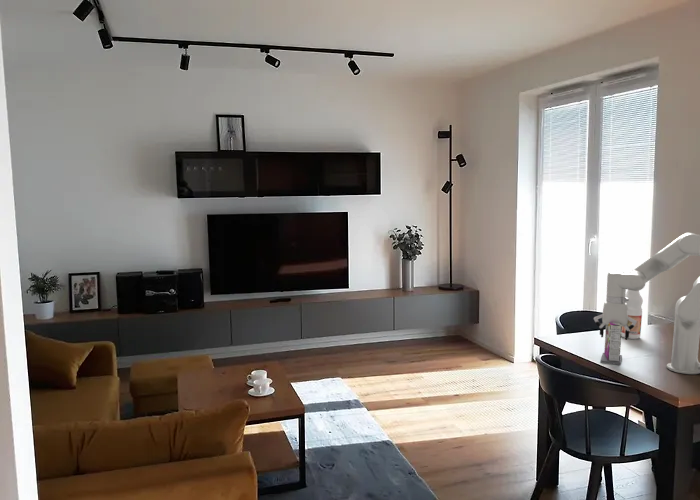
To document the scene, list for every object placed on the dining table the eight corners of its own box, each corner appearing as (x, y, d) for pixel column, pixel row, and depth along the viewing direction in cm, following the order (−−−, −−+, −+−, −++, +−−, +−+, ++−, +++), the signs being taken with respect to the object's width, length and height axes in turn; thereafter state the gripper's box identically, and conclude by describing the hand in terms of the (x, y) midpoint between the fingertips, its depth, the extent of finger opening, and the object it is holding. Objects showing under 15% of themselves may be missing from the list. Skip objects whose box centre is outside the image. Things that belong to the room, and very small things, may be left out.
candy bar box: (603, 353, 265) (605, 318, 263) (615, 354, 264) (617, 319, 262) (607, 360, 254) (610, 324, 253) (620, 362, 253) (622, 325, 251)
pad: (621, 357, 263) (622, 355, 263) (620, 365, 252) (620, 363, 252) (602, 354, 267) (602, 352, 267) (600, 362, 256) (600, 360, 255)
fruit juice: (615, 334, 302) (619, 281, 299) (631, 333, 305) (635, 281, 301) (628, 339, 293) (632, 284, 290) (644, 338, 296) (648, 284, 292)
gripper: (637, 299, 255) (636, 338, 257) (595, 296, 263) (593, 333, 265) (637, 303, 249) (635, 342, 251) (593, 299, 257) (592, 337, 259)
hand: (614, 337), depth 258 cm, fingers open, 9 cm apart
